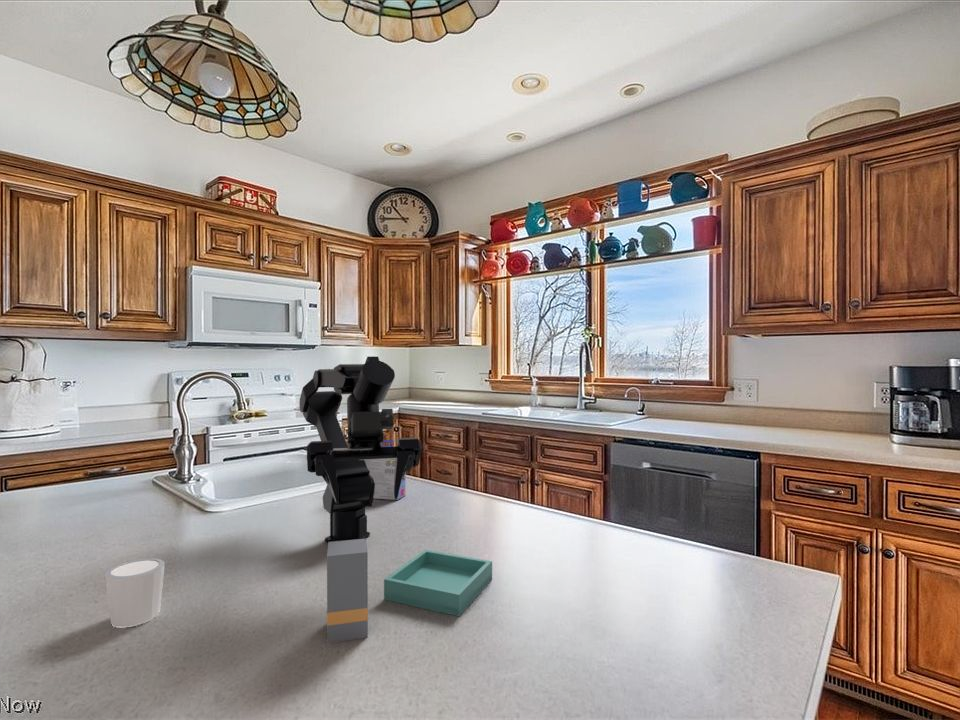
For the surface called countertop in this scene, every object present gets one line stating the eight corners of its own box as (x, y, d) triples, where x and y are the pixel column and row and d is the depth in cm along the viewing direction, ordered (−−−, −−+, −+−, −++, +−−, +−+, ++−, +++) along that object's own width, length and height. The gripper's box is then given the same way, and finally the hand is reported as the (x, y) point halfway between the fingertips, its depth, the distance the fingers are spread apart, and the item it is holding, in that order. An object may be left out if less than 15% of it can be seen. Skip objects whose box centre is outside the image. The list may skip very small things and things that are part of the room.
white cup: (125, 606, 72) (124, 558, 72) (174, 604, 73) (174, 556, 73) (92, 632, 65) (92, 579, 65) (147, 630, 66) (147, 577, 66)
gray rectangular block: (328, 622, 68) (328, 542, 68) (366, 617, 69) (366, 538, 69) (327, 643, 63) (326, 556, 63) (367, 637, 64) (367, 552, 64)
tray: (384, 599, 74) (384, 579, 74) (425, 567, 86) (425, 549, 86) (459, 616, 69) (459, 594, 69) (492, 579, 81) (492, 561, 81)
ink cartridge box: (406, 494, 131) (406, 439, 130) (399, 500, 125) (399, 443, 125) (371, 492, 133) (371, 438, 132) (362, 498, 127) (362, 442, 127)
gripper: (307, 392, 81) (303, 478, 71) (421, 391, 87) (432, 470, 76) (309, 431, 89) (306, 513, 79) (413, 428, 94) (422, 504, 84)
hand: (367, 500), depth 80 cm, fingers open, 9 cm apart
